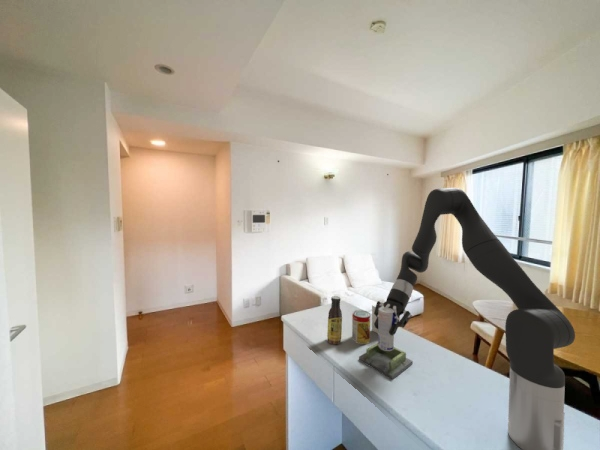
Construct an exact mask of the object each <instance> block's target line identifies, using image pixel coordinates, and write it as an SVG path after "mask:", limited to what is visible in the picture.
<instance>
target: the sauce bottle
mask: <svg viewBox="0 0 600 450" xmlns="http://www.w3.org/2000/svg"><path fill="white" fill-rule="evenodd" d="M330 300H331V305H330V308H329V311H328V317H327V333H326V334H327V335H326V336H327V339H326V340H327V342H328V344H331V345H339V344H341V341H342V334H343V331H342V330H343V328H342V327H343V313H342V310H341V297H340V296H336V295H334V296H333V295H332V296H331V299H330Z"/></svg>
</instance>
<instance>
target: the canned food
mask: <svg viewBox="0 0 600 450" xmlns="http://www.w3.org/2000/svg"><path fill="white" fill-rule="evenodd" d="M351 314H352V317H351V318H352V319H351V320H352V325H351V326H352V327H351V330H352V331H351V332H352V333H351V334H352V336H351V339H352V340H353V342H354V343H357V344H358V345H359V344H360V345H366V344H367V345H368V344H369V343H370V342H371V312H369V311H367V310H364V309H356V310H353V311H352V313H351Z"/></svg>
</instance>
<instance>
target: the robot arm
mask: <svg viewBox="0 0 600 450" xmlns="http://www.w3.org/2000/svg"><path fill="white" fill-rule="evenodd" d="M442 215H443V216H444V215H452V216H453V217H454V218H455V219H456V220H457V222H458V224H459V225H460V227H461V231H462V232H461V233H462V234H461V246H462V250H463V252H464V253H465V255H466V257H467V258H468V260H469V261H470V262H471V264H472V265H473V267H474V268H475V270H477V271H478V272H479V273H480V274H481V275H482V276H484V277H485V278H486V279H488V280H489V281H490V282H492V283H493V284H495V285H496V286H497V287H498V288H500V289H501V290H502V291H503V292H504V293H505V294H506V295H507V296H508V297H509V298H510V300H511V301H512V303H514V305H515V307H516V308H517V309H514V310H511V311H510V312H509V313H508V315H507V316H506V318H505V319H506V320H505V326H504V329H505V351H506V355H507V358H508V360H509V387H508V421H507V433H508V436H509V437H510V439H511V440H512V442H513V443H514V444H515V445H516V446H517V447H519V448H520V449H521V450H564V442H565V441H564V440H565V439H564V437H565V435H564V434H565V388H566V387H565V386H566V376H565V372H564V371H563V369H562V368H560V366H558V365H557V364H555V360H554V359H555V358H554V350H556V349H561V348H565V347H568V346H570V345H572V344H573V343H574V341H575V340H576V332H575V329H574V327H573V325H572V323H571V322H570V320H569V318H568V317H567V316H565V314H564V313H563V312H562V311H561V310H560V309H559V308H558V306H556V305H555V304H554V302H552V301H551V300H550V298H548V297H547V295H546V294H544V292H543V291H541V290H540V288H539V287H538V286H537V285H536V284H535V283H534V282H533V281H532V280H531V278H530V276H529V275H528V274H527V273H526V272H525V271H524V270H523V269H524V268H522V267H521V265H520V264H518V262H517V261H516V259H514V257H513V256H512V255H511V253H510V252H509V250H508V249H507V247H506V246H505V245H504V244H503V243H502V241H501V240H500V239H499V238H498V237H497V236H496V234H495V233H494V232H493V231H492V230H491V228H490V227H489V226H488V224H487V223H486V222H485V221H484V219H483V218H482V217H481V215H480V214H479V212H478V210H477V209H476V207H475V205H474V204H473V202H472V201H471V199H470V197H469V196H468V195H467V193H466V192H465V191H464V190H463V189H462V188H458V187H442V188H441V187H440V188H435V189H432V190H431V191H430V192H429V194H428V196H427V197H426V201H425V204H424V208H423V212H422V217H421V222H420V226H419V229H418V232H417V235H416V237H415V239H414V241H413V244H412V247H411V251H409V250H408V251H406V252H404V253H403V255H402V256H401V265H400V271H399V272H398V276H397V277H396V280H395V281H394V283H393V284H392V287H391V289H390V291H389V293H388V295H387V297H386V301H384V302H380V300H378V301H377V302H376V304H375V305H376V308H375V311H374V314H375V315H376V317H377V319H376V321H375V323H374V325H375V328H376V329H378V311H379V308H380V307H383V306H384V307H387V308H391V309H393V310H394V324H392V326H391V329H390V331H389V334H390V335H392V336H393V334H394V335H395V334H396V333H397V330H398V328H400V327H401V328H405V327H406V325H407V324H408V322H409V321H410V319H411V317H412V314H411V312H410V311H409V310H406V308H407V306H408V304H409V301H410V298H411V297H412V294H413V290H414V287H415V285H416V283H417V281H418V275H417V274H416V273H424V272H426V270H428V267H429V262H430V261H429V259H430V255H431V254H430V253H431V252H432V251H433V248H434V246H435V244H436V242H437V238H438V237H437V231H436V222H437V221H438V219H439V217H440V216H442ZM414 271H415V272H416V273H415V272H414ZM402 315H403V316H402ZM400 316H402V317H400ZM400 318H401V319H400Z"/></svg>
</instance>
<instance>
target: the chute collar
mask: <svg viewBox="0 0 600 450" xmlns="http://www.w3.org/2000/svg"><path fill="white" fill-rule="evenodd" d="M365 351H366V352H365V353H363V354H361V355H359V356H358V360H359V361H361V363H364V364H366V365H367V366H369V367H370V368H373V369H374V370H376V371H377V372H378V373H380V374H382V375H384V376H385V377H387V378H388V379H390V380H394V379H396V378H397V377H398V376H399V375H401V374H402V373H403V372H405V371H406V370H407V369H409V368H410V367H411V366H412V365H413V363H414V361H413V360H412V359H410V358H407V353H406V352H405V351H403V350H401V349H399V348H397V347H395V346H394V349H393V350H392V351H384V350H382V349H380V348H379V347H378V342H377V343H375V344H373V345H371V346H370V347H368V348H366V350H365Z"/></svg>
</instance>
